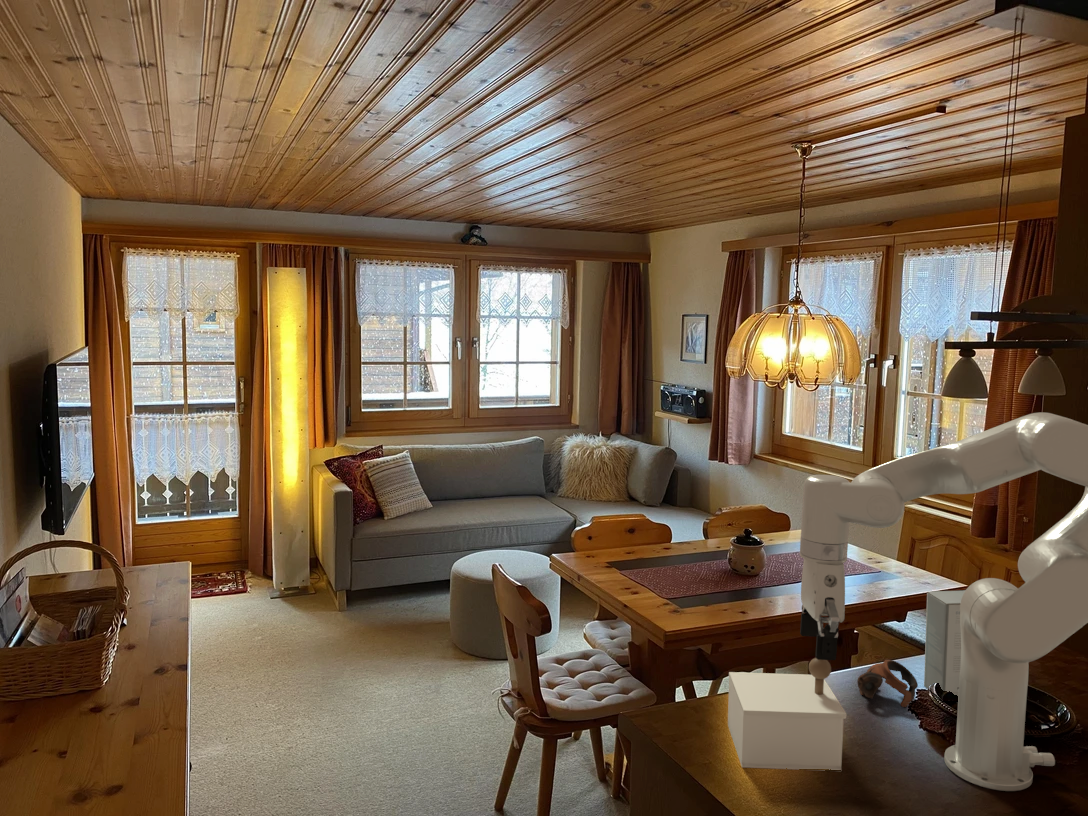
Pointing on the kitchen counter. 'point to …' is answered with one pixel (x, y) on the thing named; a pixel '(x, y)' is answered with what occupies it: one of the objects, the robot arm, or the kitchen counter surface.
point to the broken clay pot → (888, 680)
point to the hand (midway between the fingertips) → (817, 647)
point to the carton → (784, 739)
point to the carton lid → (788, 693)
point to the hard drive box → (943, 640)
